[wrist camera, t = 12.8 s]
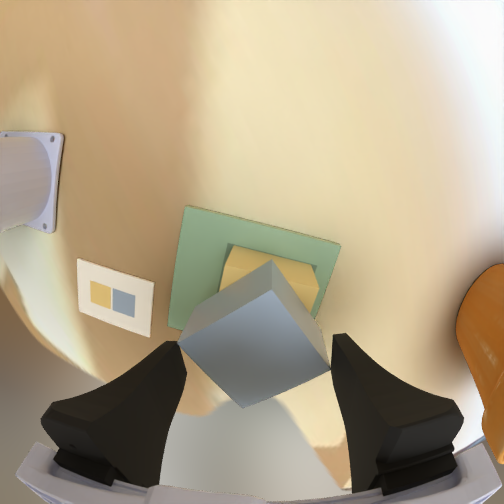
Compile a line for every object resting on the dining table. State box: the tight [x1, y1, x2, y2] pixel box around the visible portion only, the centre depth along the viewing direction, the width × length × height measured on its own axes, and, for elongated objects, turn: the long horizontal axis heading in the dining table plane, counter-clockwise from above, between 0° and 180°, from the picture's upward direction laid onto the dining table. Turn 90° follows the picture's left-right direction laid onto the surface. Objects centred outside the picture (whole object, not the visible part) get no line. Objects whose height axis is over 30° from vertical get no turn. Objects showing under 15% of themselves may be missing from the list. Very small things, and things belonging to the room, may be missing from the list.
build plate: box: [167, 205, 341, 331], centre depth 19 cm, size 10×9×1 cm
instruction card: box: [77, 258, 155, 338], centre depth 20 cm, size 7×5×1 cm
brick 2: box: [177, 259, 331, 408], centre depth 14 cm, size 5×5×4 cm
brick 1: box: [219, 245, 319, 313], centre depth 17 cm, size 5×5×4 cm
